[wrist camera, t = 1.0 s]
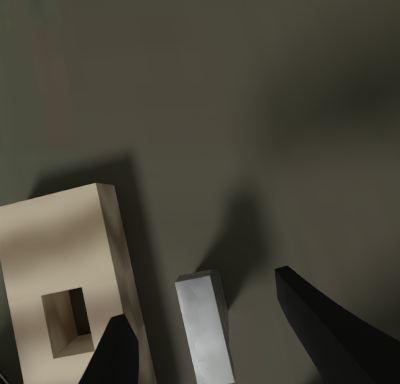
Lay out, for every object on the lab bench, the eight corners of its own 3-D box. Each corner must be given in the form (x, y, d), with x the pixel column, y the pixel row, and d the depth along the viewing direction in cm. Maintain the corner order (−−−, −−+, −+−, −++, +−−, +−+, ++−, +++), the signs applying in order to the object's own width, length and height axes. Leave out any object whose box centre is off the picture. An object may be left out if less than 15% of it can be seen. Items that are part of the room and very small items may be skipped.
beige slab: (162, 411, 23) (151, 448, 20) (65, 426, 24) (39, 464, 21) (114, 185, 25) (95, 182, 21) (22, 207, 25) (-10, 209, 22)
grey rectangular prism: (232, 326, 23) (234, 382, 16) (206, 331, 23) (198, 388, 16) (214, 252, 23) (209, 275, 16) (190, 257, 24) (175, 282, 17)
